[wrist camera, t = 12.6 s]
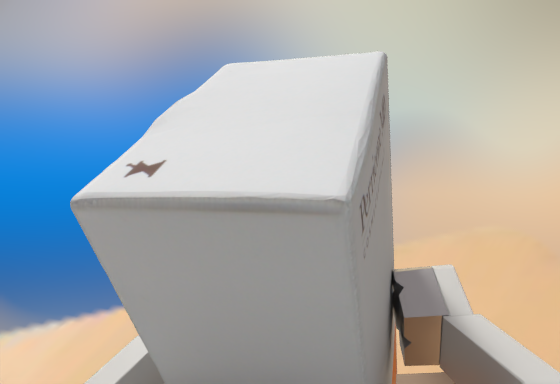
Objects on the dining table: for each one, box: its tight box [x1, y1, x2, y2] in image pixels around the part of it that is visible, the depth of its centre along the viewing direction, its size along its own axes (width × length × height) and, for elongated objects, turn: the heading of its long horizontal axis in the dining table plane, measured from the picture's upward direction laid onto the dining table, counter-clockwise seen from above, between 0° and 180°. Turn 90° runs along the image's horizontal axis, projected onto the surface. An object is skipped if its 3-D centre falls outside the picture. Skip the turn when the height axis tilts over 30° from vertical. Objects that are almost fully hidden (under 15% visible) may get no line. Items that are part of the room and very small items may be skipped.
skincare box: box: [70, 51, 397, 384], centre depth 11 cm, size 6×4×12 cm
